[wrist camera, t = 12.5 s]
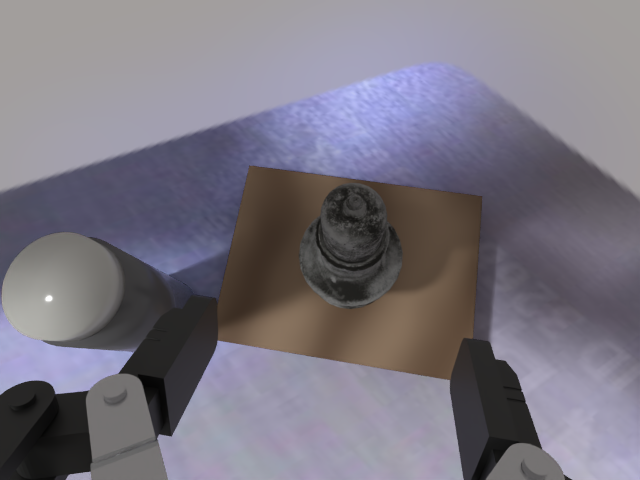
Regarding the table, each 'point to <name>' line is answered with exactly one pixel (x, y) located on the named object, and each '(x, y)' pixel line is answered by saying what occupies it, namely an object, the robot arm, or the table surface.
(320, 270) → the grey chess piece
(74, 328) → the grey cylinder
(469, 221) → the walnut board
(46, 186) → the table surface
